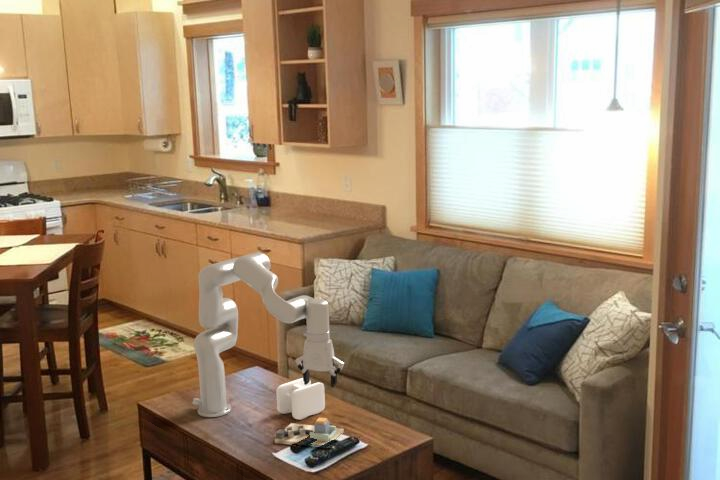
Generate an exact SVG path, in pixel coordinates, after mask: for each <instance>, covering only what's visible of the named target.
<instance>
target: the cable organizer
mask: <svg viewBox="0 0 720 480" xmlns="http://www.w3.org/2000/svg"><path fill="white" fill-rule="evenodd" d="M275 392H276V393H275V394H276V411H277V412H278V413H279V414H282V415H283V414H285V415H286V414H290V413H291V415H292V417H293V419H296V420H299V421H301V420H304V419H306V418H308V417H310V416H312V415H314V416H315V415H317V414H319V413H321V412H323V411H324V409H325V407H326V399H325V397H326V396H325V385H324V383H323V382H315V383H312V381H311V380H310V382H309V383H308V384H306V385H305V384H304V381H303V377H301V378H297V379H294V380H292V381H289V382H286V383H283V384H280V385H278V386H277V388H276V389H275Z"/></svg>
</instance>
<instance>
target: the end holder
mask: <svg viewBox="0 0 720 480" xmlns="http://www.w3.org/2000/svg"><path fill="white" fill-rule="evenodd" d="M329 425H330V424H329ZM336 428H337V426H336V425H330V432H331V435H330V436H329V434H323V433H313V432H310V438H314V439H317V440H322V441H329V440H331V439H332V438H333V437H334V436H335V434H336Z"/></svg>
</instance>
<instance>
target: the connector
mask: <svg viewBox="0 0 720 480" xmlns="http://www.w3.org/2000/svg"><path fill="white" fill-rule="evenodd" d="M313 426H314V428H315V433H323V434H329V435H330V420H328V418H326V417H318V418H317V419H316V420H315V423H314V424H313Z"/></svg>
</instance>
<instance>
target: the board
mask: <svg viewBox="0 0 720 480" xmlns="http://www.w3.org/2000/svg"><path fill="white" fill-rule="evenodd" d="M310 432H313V433H314V432H315V428H314V424H302V423H292V422H290V424H289V425H287V426H286V427H285V429H278V430H277V431H276V432H275V439H274V443H275V444H282V445H289V446H293V445H292V444H294V443H297V442H299V441H301V440H303V439H305V438H307V437H308V436H309V435H310ZM341 434H342V435H343V434H344V428H340V427H336V434H335V436H334V437H333V438H332V439H331V440H334V439H337V438H338V437H339V436H340V435H341ZM330 435H331V432H330ZM330 435H329V436H330ZM342 435H341V436H342ZM341 436H340V437H341ZM340 437H339V438H340ZM339 438H338V439H339ZM331 440H329V441H331ZM329 441H322V440H317V441H315V442H313V443H311V444H312V445H314V446H321V445H324V444H325V443H327V442H329Z"/></svg>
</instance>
